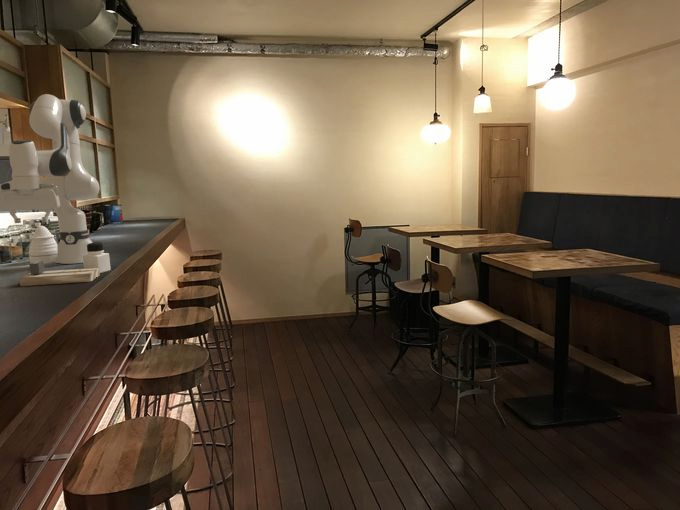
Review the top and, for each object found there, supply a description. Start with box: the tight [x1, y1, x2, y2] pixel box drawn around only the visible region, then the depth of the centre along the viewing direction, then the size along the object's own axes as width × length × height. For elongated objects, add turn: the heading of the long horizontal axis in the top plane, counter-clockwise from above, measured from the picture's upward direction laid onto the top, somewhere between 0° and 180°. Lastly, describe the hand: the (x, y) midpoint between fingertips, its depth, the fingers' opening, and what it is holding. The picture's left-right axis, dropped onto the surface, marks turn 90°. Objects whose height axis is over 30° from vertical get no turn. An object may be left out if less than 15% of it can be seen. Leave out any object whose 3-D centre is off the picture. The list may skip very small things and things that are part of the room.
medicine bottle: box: [83, 241, 112, 274], centre depth 207 cm, size 7×7×12 cm
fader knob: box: [29, 261, 46, 274], centre depth 190 cm, size 5×3×4 cm, turn 10°
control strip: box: [19, 267, 101, 287], centre depth 192 cm, size 12×24×3 cm, turn 100°
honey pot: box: [28, 222, 58, 264], centre depth 237 cm, size 13×13×18 cm
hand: (31, 222), depth 188 cm, fingers open, 8 cm apart
